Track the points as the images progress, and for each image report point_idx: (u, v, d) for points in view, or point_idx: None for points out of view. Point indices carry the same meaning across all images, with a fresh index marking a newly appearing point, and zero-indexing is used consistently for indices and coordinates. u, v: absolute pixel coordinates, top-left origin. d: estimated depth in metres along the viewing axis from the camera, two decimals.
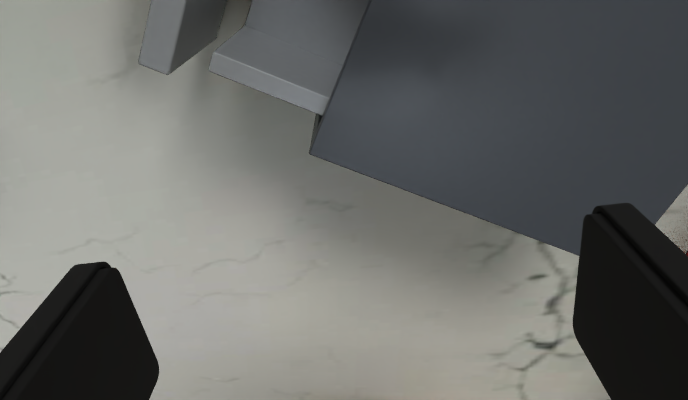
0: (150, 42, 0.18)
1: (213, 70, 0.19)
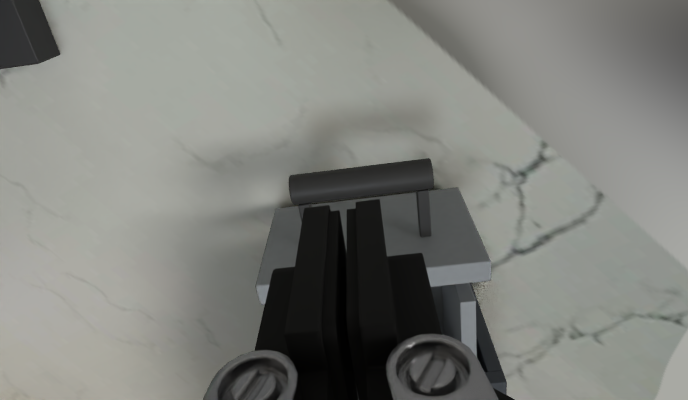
0: None
1: None
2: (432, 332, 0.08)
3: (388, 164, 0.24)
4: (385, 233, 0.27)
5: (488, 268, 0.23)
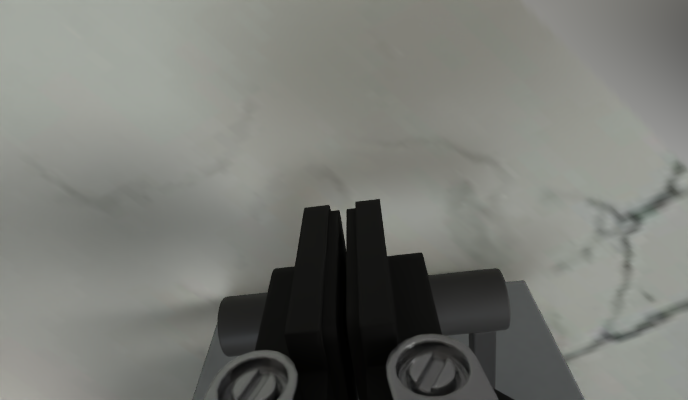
0: None
1: None
2: (432, 332, 0.08)
3: None
4: None
5: None
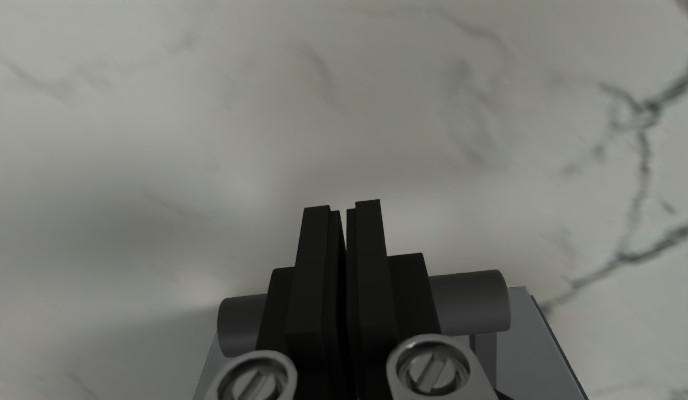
0: None
1: None
2: (432, 332, 0.08)
3: None
4: None
5: None
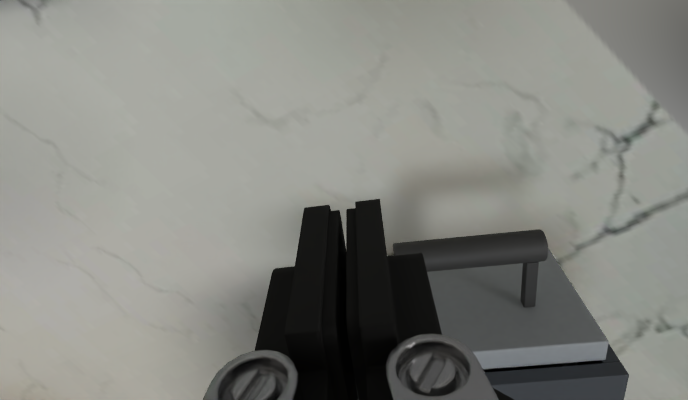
0: None
1: None
2: (432, 332, 0.08)
3: (498, 235, 0.23)
4: (483, 301, 0.26)
5: (605, 348, 0.22)
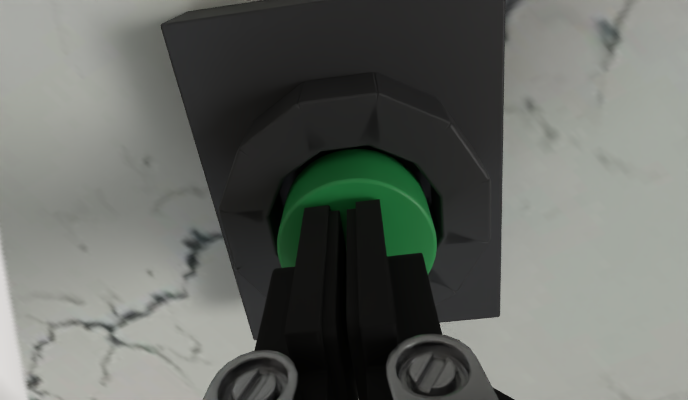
0: None
1: None
2: (432, 332, 0.08)
3: None
4: None
5: None
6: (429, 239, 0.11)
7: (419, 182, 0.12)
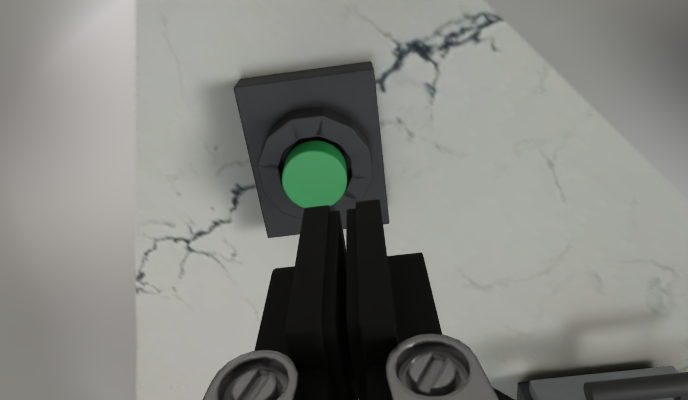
0: None
1: None
2: (432, 332, 0.08)
3: (662, 378, 0.34)
4: None
5: None
6: (343, 175, 0.27)
7: None
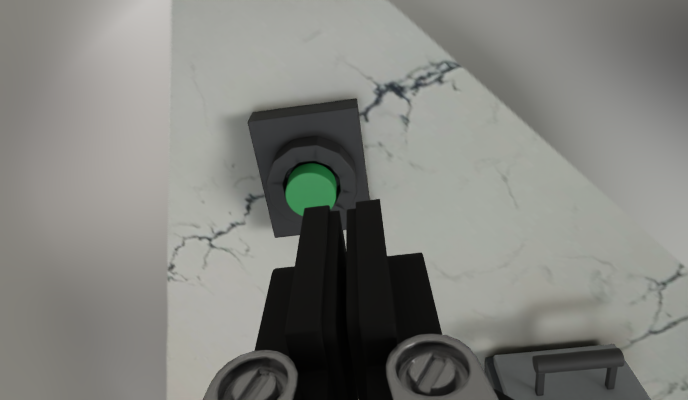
0: None
1: None
2: (432, 332, 0.08)
3: (595, 352, 0.41)
4: (582, 384, 0.44)
5: None
6: (333, 191, 0.35)
7: (332, 174, 0.36)
